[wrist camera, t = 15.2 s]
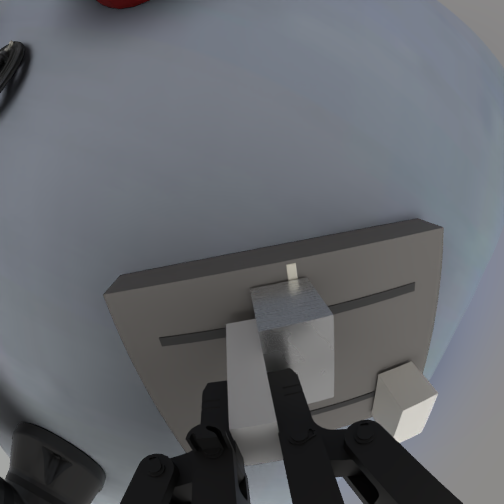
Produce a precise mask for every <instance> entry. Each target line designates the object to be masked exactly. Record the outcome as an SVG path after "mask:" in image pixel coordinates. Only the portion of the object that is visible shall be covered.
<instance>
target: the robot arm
mask: <svg viewBox="0 0 504 504" xmlns="http://www.w3.org/2000/svg"><path fill="white" fill-rule="evenodd" d="M226 347H227V380H225V381H218V382H211V383H207V385H206V387H205V388H204V390H203V392H202V407H201V409H202V410H201V423H200V424H199V425H197V426H195V427H193V428H192V429H191V430H190V431H189V432H188V433H187V436H186V441H187V443H188V444H189V446H190V447H191V449H192V450H191V451H190V452H188V453H186V454H183V455H180V456H177V457H173V458H169V457H168V456H165V455H163V454H152V455H149V456H147V457H145V458H144V459H143V460H142V461H141V462H140V464H139V466H138V468H137V470H136V472H135V474H134V476H133V478H132V480H131V482H130V484H129V486H128V488H127V490H126V492H125V494H124V496H123V498H122V500H121V503H120V504H250V496H249V487H248V478H247V475H246V473H245V469H244V463H245V465H246V466H248V465H255V464H262V463H268V462H274V461H279V460H284V465H285V470H286V475H287V479H288V484H289V489H290V493H291V498H292V503H293V504H344V501H343V498H342V496H341V493H340V490H339V487H338V484H337V481H336V478H335V477H343V478H344V479H345V481H346V482H347V483H348V484H349V486H350V487H351V488H352V490H353V491H354V492H355V494H356V495H357V496H358V497H359V499H360V500H361V501H362V502H363V504H463V503H462V502H461V501H460V500H459V499H457V498H456V497H455V496H454V495H453V494H452V493H451V492H450V491H449V490H448V489H447V488H445V487H444V486H443V485H442V484H441V483H440V482H439V481H438V480H437V479H436V478H435V477H434V476H433V475H432V474H431V473H429V471H427V470H426V469H425V468H424V467H423V466H422V465H421V464H420V463H419V462H418V461H417V460H416V459H415V458H414V457H413V456H412V455H411V454H410V453H409V452H408V451H407V450H406V449H404V447H402V445H401V444H400V443H399V442H398V441H396V440H395V439H394V438H393V437H392V436H391V435H390V434H389V433H388V432H387V431H386V430H385V429H384V428H383V427H382V426H381V425H380V424H379V423H377V422H376V421H372V420H360V421H358V422H355V423H353V424H352V425H351V426H349V427H348V429H340V430H331V429H325V428H322V427H320V426H319V425H317V424H316V423H315V422H314V420H313V418H312V416H311V413H310V410H309V407H308V404H307V401H306V398H305V395H304V392H303V389H302V386H301V383H300V380H299V377H298V375H297V374H296V373H295V372H294V371H293V370H292V369H291V368H287V369H282V370H277V371H272V372H266V367H265V362H264V357H263V353H262V348H261V343H260V338H259V333H258V328H257V323H256V319H251V320H245V321H240V322H235V323H229V324H226ZM12 439H13V441H12V447H11V456H10V468H9V471H8V474H7V475H6V478H5V480H4V479H2V478H1V477H0V504H90V503H91V502H92V501H93V499H94V498H95V496H96V495H97V493H98V492H100V491H101V490H102V488H103V485H104V482H105V478H106V476H105V473H104V471H103V470H102V469H101V468H100V466H99V465H98V464H96V463H95V462H94V461H93V460H92V459H91V458H89V457H88V456H87V455H85V454H84V453H83V452H81V451H80V450H78V449H77V448H75V447H74V446H72V445H71V444H69V443H68V442H66V441H64V440H63V439H61V438H59V437H58V436H56V435H54V434H52V433H50V432H48V431H46V430H44V429H42V428H40V427H38V426H35V425H32V424H29V423H20V424H18V426H17V428H16V429H15V431H14V433H13V436H12Z"/></svg>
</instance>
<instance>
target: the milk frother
mask: <svg viewBox="0 0 504 504" xmlns="http://www.w3.org/2000/svg"><path fill="white" fill-rule="evenodd" d="M23 54H24V45H23V44H22V43H21V42H16V41H14V42H13V41H10V43H9V44H8V45H6V46H4V47H3V48H2V49H0V93H1V91H2V90H3V89H4V87H5V86H6V84H7V83H8V82H9V80H10V79H11V77H12V76H13V74H14V72H15V71H16V69H17V67H18V66H19V64H20V62H21V60H22V57H23Z"/></svg>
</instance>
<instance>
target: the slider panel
mask: <svg viewBox="0 0 504 504" xmlns="http://www.w3.org/2000/svg"><path fill="white" fill-rule="evenodd" d="M443 229H444V228H443V227H441V226H438V225H435V224H432V223H429V222H426V221H424V220H421V219H418V218H417V219H412V220H407V221H401V222H396V223H391V224H385V225H380V226H375V227H370V228H364V229H359V230H354V231H348V232H343V233H338V234H333V235H327V236H322V237H317V238H312V239H306V240H301V241H296V242H291V243H285V244H280V245H275V246H270V247H264V248H259V249H254V250H249V251H244V252H238V253H233V254H228V255H223V256H218V257H212V258H207V259H202V260H197V261H192V262H186V263H181V264H176V265H171V266H166V267H161V268H155V269H150V270H145V271H140V272H135V273H130V274H124V275H120V276H119V277H118V278H117V279H116V281H115V282H114V283H113V284H112V285H111V286H110V287H109V288H108V290H107V291H106V292H105V293H104V294H103V296H104V298H105V301H106V304H107V306H108V309H109V311H110V314H111V316H112V319H113V321H114V323H115V326H116V328H117V330H118V333H119V335H120V337H121V339H122V342H123V344H124V346H125V348H126V350H127V352H128V355H129V357H130V359H131V361H132V363H133V365H134V367H135V369H136V371H137V373H138V375H139V376H140V378H141V380H142V382H143V384H144V386H145V388H146V389H147V391H148V393H149V395H150V397H151V398H152V400H153V402H154V404H155V405H156V407H157V409H158V410H159V412H160V414H161V415H162V417H163V418H164V420H165V422H166V423H167V425H168V426H169V428H170V430H171V431H172V433H173V434H174V436H175V437H176V439H177V440H178V442H179V443H180V444H181V446H182V447H183V449H184V450H185V452H186V453H188V452H190V451H191V450H192V449H191V447H190V446H189V444H188V443H187V441H186V436H187V433H188V432H189V431H190V430H191V429H192V428H193V427H195V426H197V425H199V424H200V423H201V410H202V409H201V407H202V392H203V390H204V388H205V387H206V385H207V383H211V382H218V381H225V380H227V347H226V324H229V323H235V322H240V321H245V320H251V319H256V318H255V313H254V307H253V302H252V297H251V292H250V289H252V288H257V287H262V286H267V285H272V284H277V283H282V282H287V281H291V280H296V279H301V278H306V277H307V278H308V280H309V281H310V282H311V284H312V285H313V287H314V288H315V289H316V291H317V292H318V294H319V295H320V296H321V298H322V299H323V301H324V302H325V304H326V305H327V306H328V308H329V309H330V311H331V312H332V313H333V317H334V397H332V398H329V399H325V400H321V401H318V402H314V403H310V404H308V407H309V410H310V413H311V416H312V418H313V420H314V422H315V423H316V424H317V425H319V426H320V427H322V428H325V429H331V430H334V429H337V428H341V427H344V426H347V425H350V424H353V423H355V422H358V421H360V420H365V419H367V418H370V417H373V416H372V414H371V413H372V409H373V403H374V398H375V393H376V387H377V380H378V374H381V373H383V372H386V371H389V370H391V369H394V368H396V367H399V366H401V365H404V364H406V363H409V362H411V361H412V362H413V364H414V365H415V366H416V367H417V368H418V369H419V371H420V372H421V373H422V374H423V370H424V367H425V363H426V359H427V355H428V350H429V346H430V341H431V337H432V332H433V327H434V321H435V315H436V309H437V302H438V295H439V287H440V278H441V268H442V254H443Z"/></svg>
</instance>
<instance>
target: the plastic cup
mask: <svg viewBox="0 0 504 504" xmlns="http://www.w3.org/2000/svg"><path fill="white" fill-rule="evenodd" d="M96 1H98V2H99V3H101V4H102V5H104V6H107V7H110V8H117V9H122V8H128V7H134V6H137V5H139V4H141V3H144V2H147V1H149V0H96Z"/></svg>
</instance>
